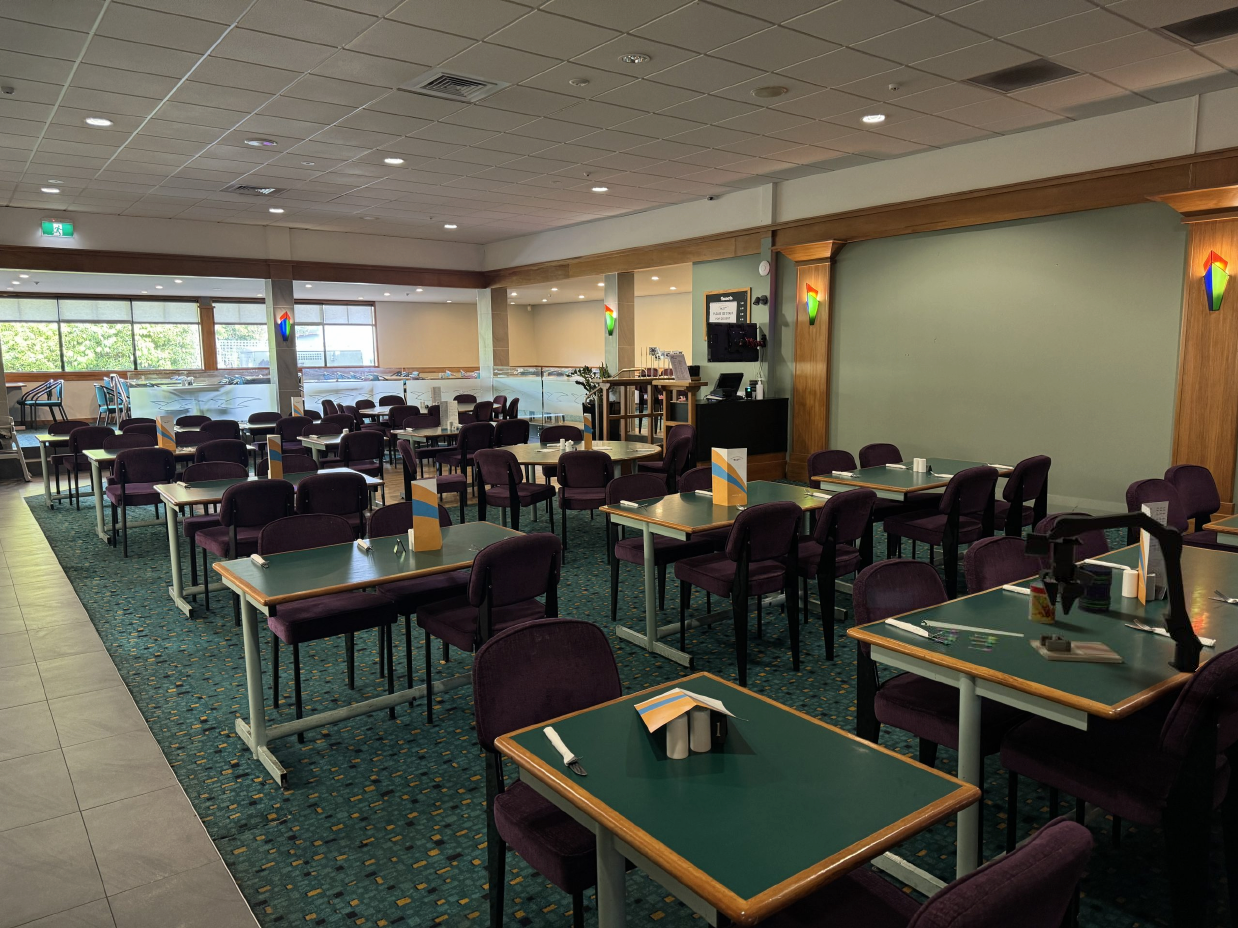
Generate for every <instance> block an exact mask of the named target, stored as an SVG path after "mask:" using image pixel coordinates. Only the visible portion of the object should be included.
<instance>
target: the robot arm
mask: <svg viewBox="0 0 1238 928" xmlns="http://www.w3.org/2000/svg"><path fill="white" fill-rule="evenodd" d="M1053 523H1054V526H1052V527H1051V528H1050V530H1048V531H1047V532H1046V534H1045V533H1035V532H1031V531H1030V532H1029V531H1026V538H1025V541H1024V542H1025V543H1024V545H1025V546H1024V555H1025V556H1033V557H1043V558H1046V556H1047V555H1050V554H1051V544H1052V554H1051V559H1049V561H1048V563H1049V565H1051V569H1042V568H1041V570H1039V571H1038V579H1039V582H1041V583H1042V585H1043V587H1044V590H1045V592H1046V594H1047V597H1048V599H1049V602H1050V604H1051V606H1055V604H1056V605H1057V600H1058V599H1059V604H1060V607H1061V609H1062V613H1063V615H1064V616H1069V615H1070V612H1071V610H1072V607H1073V606H1074V603H1075V601H1076V600H1078V598H1079V597H1082V596H1083V595H1086V588H1085V587H1084V586H1083V585H1082V584H1080V582H1079V581H1082V582H1084V583H1087V584H1088V585H1091V584H1092V582H1093V580H1094V578H1095V575H1093V574H1091V573H1089V572H1087V571H1085V567H1083V566H1081V565H1082V564H1078V563H1075V554H1076V546H1078V547H1079V546H1080V547H1081V546H1084V542H1083V541H1082V540H1081V539H1080V538H1079V537H1078V536H1080V535H1083V534H1085V533H1089V532H1092V531H1093V532H1094V531H1103V530H1113V529H1114V530H1115V529H1122V528H1125V529H1126V528H1132V527H1133V528H1135V527H1139V528H1140V529H1142V530H1143V531H1144V532H1146V533H1148V534H1149V535H1150V536H1152V537H1153V538H1155V541H1156V543H1157V546H1158V549H1159V551H1160V554H1161V557H1162V560H1163V569H1164V575H1165V577H1164V578H1165V584H1166V585H1165V586H1166V593H1167V601H1168V611H1167V613H1165V612H1162V613H1161V615H1162V618H1163V629H1164V630H1165V633H1166V634H1168V635H1169V636H1170V639H1171V640H1172V641H1173V642H1175V645H1174V653H1173V654H1174V656H1173V661H1167V664H1168V665H1169V666H1171V667H1173V668H1174V669H1176V670H1177V671H1178V672H1183V673H1195V672H1194V671H1195V670H1196V669H1197V668H1198V667H1200V657H1201V652H1202V651H1203V648H1204V647H1205V646H1204V645H1203V643H1202V641H1201V639H1200V638H1199V636H1198V635H1197V634H1196V633H1195V631H1194V627H1193V625H1192V620H1191V619H1190V616H1189V613H1188V611H1187V607H1186V599H1185V591H1184V582H1183V573H1182V566H1181V565H1182V564H1181V558H1182V553H1183V546H1184V538H1183V535H1182V534H1181V533H1180V532H1179V530H1178V529H1177V528H1176V527H1174V526H1171V525H1164V524H1162V523H1161V522H1160V521H1158V520H1156V519H1155V518H1153V517H1151V516H1150V515H1149V514H1147V513H1146V512H1144V511H1142V510H1135V511H1130V512H1121V513H1113V514H1103V515H1094V516H1093V515H1092V516H1085V515H1084V516H1083V515H1075V514H1073V515H1072V514H1062V515H1059V516H1057V518H1056V519H1055V521H1054V522H1053ZM1072 537H1073V538H1072Z"/></svg>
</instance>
